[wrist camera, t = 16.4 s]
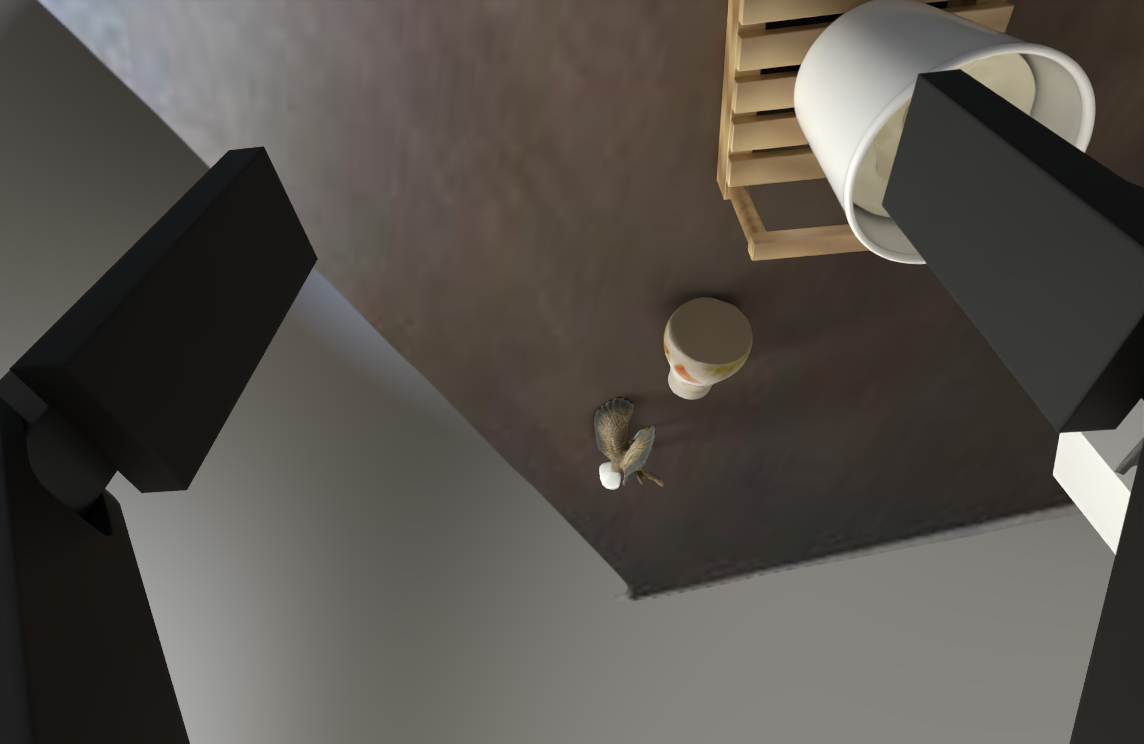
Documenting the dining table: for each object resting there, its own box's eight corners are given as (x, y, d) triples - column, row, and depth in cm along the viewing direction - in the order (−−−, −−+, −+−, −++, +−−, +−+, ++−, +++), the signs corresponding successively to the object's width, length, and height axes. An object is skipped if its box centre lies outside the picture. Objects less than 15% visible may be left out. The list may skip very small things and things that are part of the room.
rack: (730, -32, 34) (777, 16, 26) (995, -66, 33) (1127, -27, 25) (716, 180, 43) (748, 262, 35) (924, 159, 42) (1005, 240, 34)
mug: (649, 379, 57) (643, 412, 48) (675, 282, 54) (675, 296, 45) (724, 399, 56) (734, 436, 47) (755, 301, 54) (773, 320, 44)
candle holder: (997, 37, 33) (1150, 119, 24) (863, 184, 39) (947, 293, 30) (868, -62, 30) (990, -7, 21) (744, 116, 36) (800, 214, 27)
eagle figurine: (680, 454, 63) (671, 411, 56) (650, 511, 60) (638, 475, 53) (618, 429, 67) (603, 387, 60) (587, 483, 64) (568, 445, 57)
